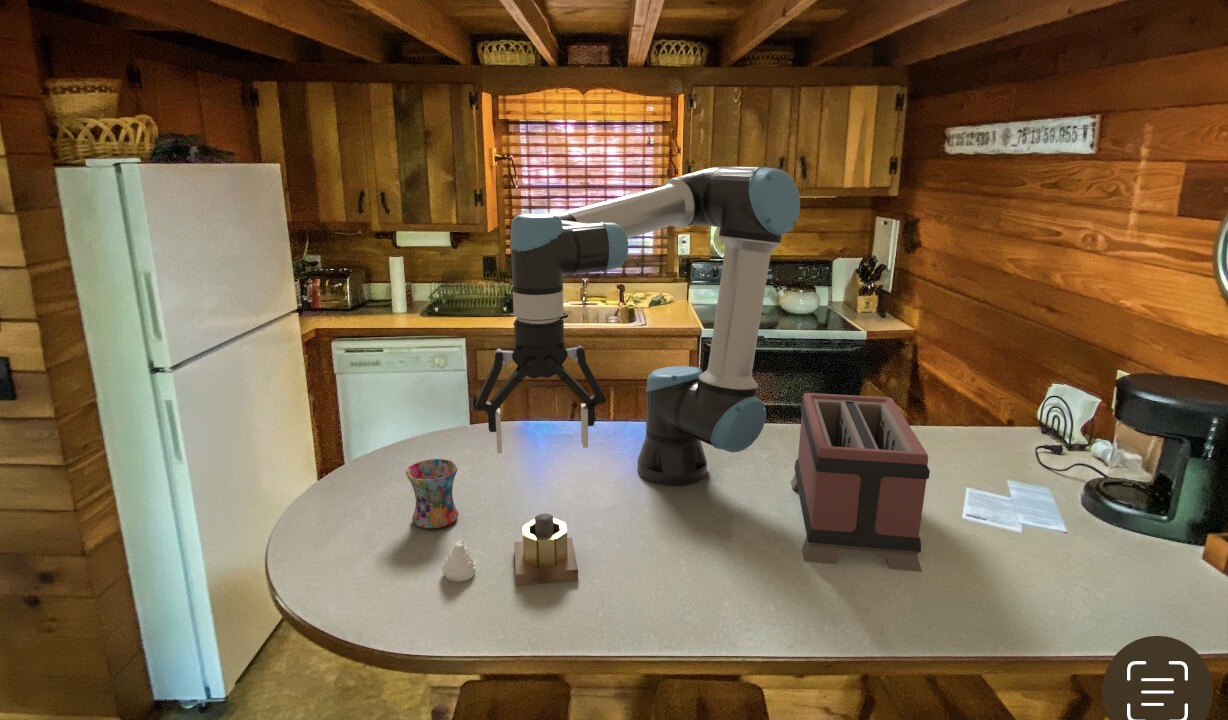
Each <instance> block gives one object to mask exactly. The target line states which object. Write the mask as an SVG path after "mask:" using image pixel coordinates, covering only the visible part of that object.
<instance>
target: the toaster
mask: <svg viewBox="0 0 1228 720" xmlns="http://www.w3.org/2000/svg"><path fill="white" fill-rule="evenodd" d="M800 413H801V416H800V418H801V420H800V431H799V444H798V454H797V455H798V457H797V458H796V460H795V462H794V463H795V464H794V472H795V473H794V474H795V475H793V477H792V479H791V481H790V484H791V491H795V492H796V491H797V492H798V497H799V503H800V508H801V512H802V517H803V524H804V528H805V533H806V534H805V535H806V537H805V540H804V543H803V544H802V547H801V552H802V557H803V562H807V563H819V564H830V565H836V564H837V561H838V558H839V556H840V554H841V552H842V551H846V552H857V553H869V554H881V555H884V558H885V561H886V563H887V566H888V569H889V570H897V571H906V572H907V571H908V572H919V573H923V570H922V567H921V563H920V560H919V556H918V555H919V554H920V553H921V552H922V540H921V537H920V529H921V521H922V515H923V509H924V500H925V494H926V487H927V480H928V479H930V473H931V470H930V467H928V463H929V455H928V452H927V451H926V450H925V449H924V447H923V445H922V444H921V442H920V441H919V439H918V437H917V435H916V434H915V432H914V431H913V429H912V427H911V426H910V424H909V423H908V421H907V419H906V418H905V417H904V415H903V413H902V412H901V410H900V409H899V407H898V405H897V403H896V402H895V400H894V399H893V398H892V397H891V396H890V397H889V396H872V395H871V396H870V395H853V394H852V395H851V394H831V393H815V392H813V393H812V392H805V393H803V397H802V402H801V404H800Z"/></svg>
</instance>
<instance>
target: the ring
mask: <svg viewBox="0 0 1228 720" xmlns="http://www.w3.org/2000/svg"><path fill="white" fill-rule="evenodd" d="M553 532H554V535H553V536H546V537H538V536H536V535H535V518H534V519H531V520H530V521H529V522H526V523H525V524H524V525H523V526H522V542H523V552H524V561H525V563H528V564H530V565H532V566H534V567H538V566H539V568H544V567H555V565H556V566H557V565H559V564H560V563H562V562H563V561H565V560H566V559H567V558H568V553H567V538H568V529H567V523H566V522H565V521H562V520H560V519H557V518H554V517H553Z"/></svg>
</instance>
